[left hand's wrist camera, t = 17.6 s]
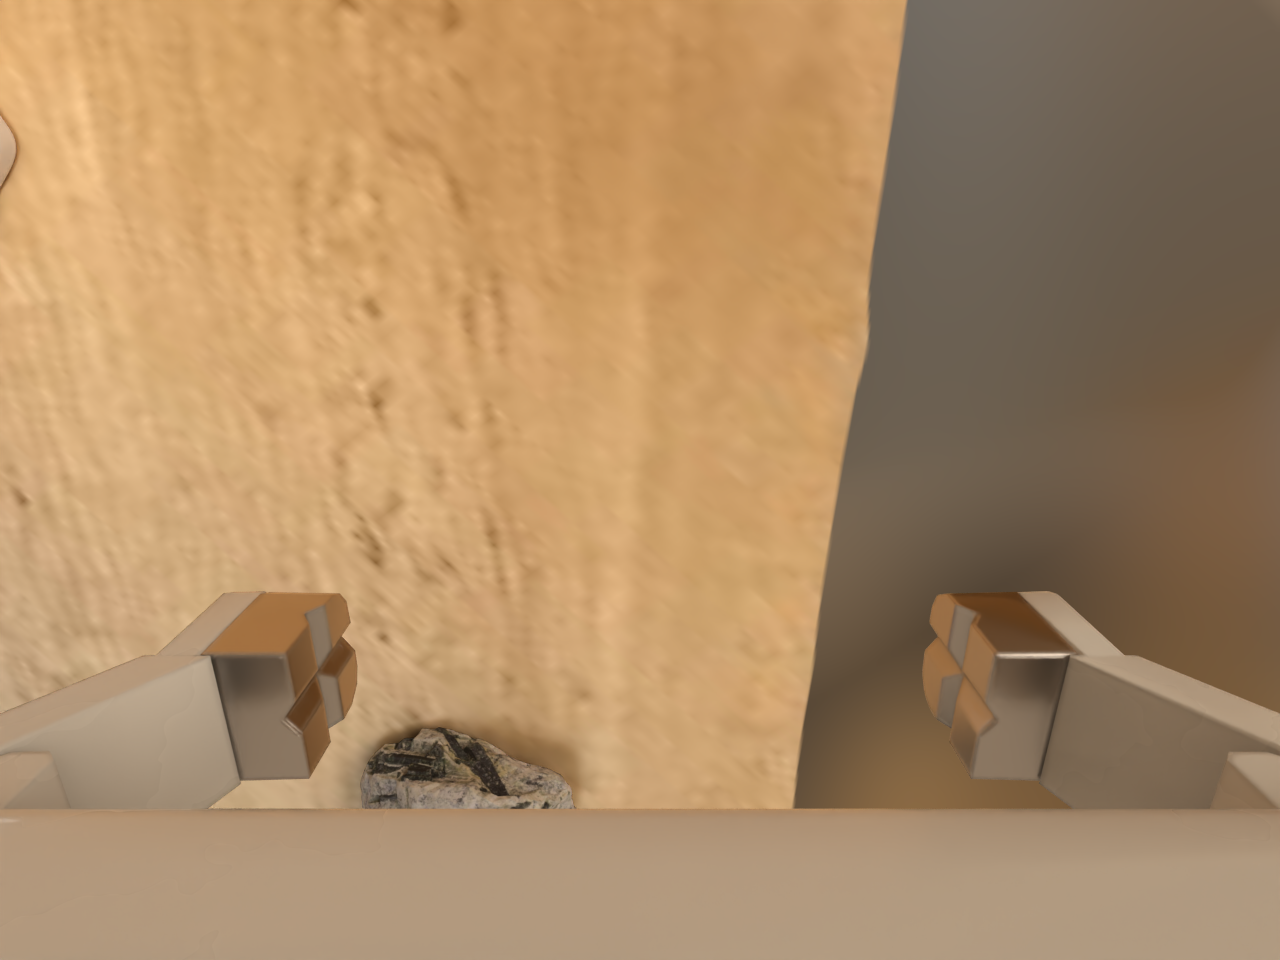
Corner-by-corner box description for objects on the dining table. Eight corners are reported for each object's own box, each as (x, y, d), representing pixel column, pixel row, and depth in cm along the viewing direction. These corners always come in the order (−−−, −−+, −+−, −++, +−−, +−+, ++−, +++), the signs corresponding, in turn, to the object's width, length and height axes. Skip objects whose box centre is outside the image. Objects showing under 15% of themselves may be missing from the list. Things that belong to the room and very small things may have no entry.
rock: (369, 829, 54) (335, 917, 47) (369, 716, 50) (331, 795, 43) (571, 843, 55) (564, 932, 48) (584, 733, 51) (579, 813, 44)
